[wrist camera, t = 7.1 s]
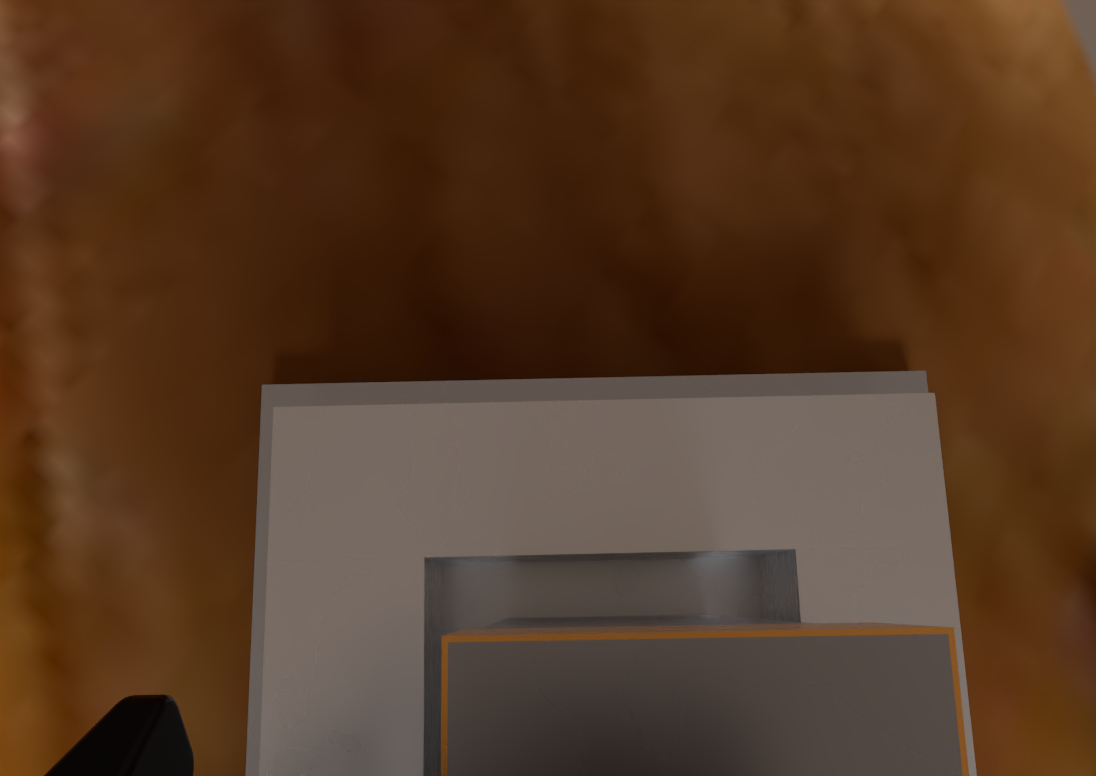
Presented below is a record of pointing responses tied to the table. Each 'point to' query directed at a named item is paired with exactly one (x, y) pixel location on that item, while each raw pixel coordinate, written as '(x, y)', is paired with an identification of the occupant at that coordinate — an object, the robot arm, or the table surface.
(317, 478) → the grey socket base
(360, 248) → the table surface
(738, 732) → the grey square peg
